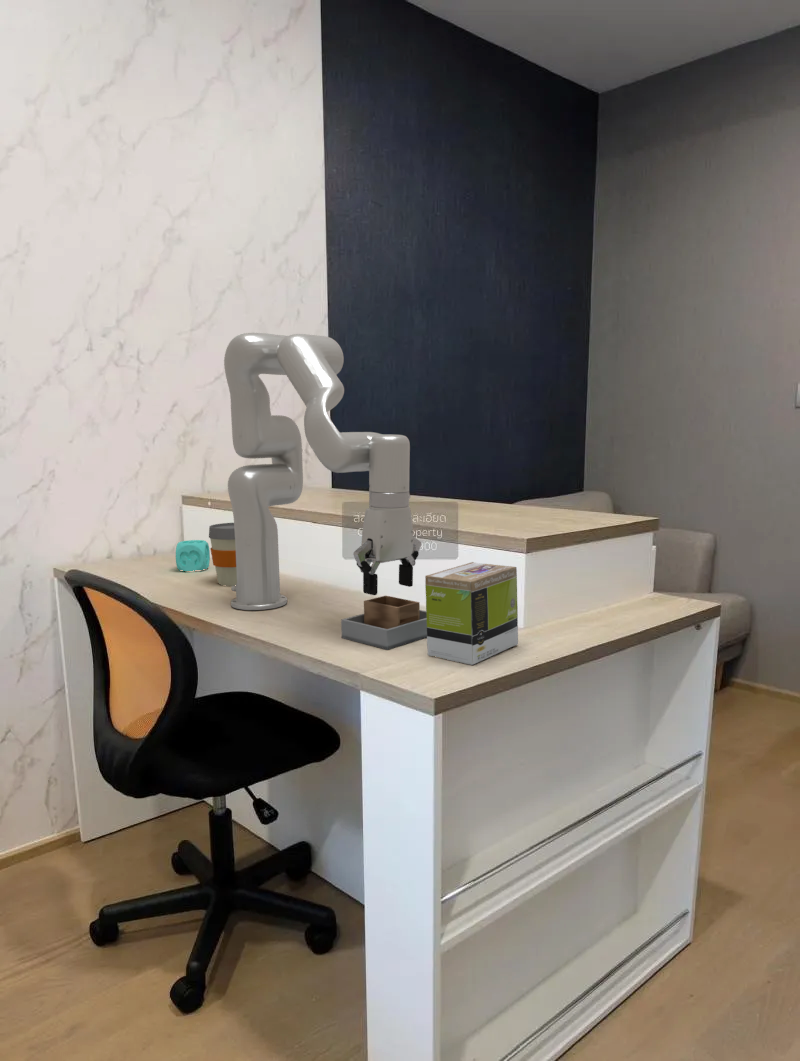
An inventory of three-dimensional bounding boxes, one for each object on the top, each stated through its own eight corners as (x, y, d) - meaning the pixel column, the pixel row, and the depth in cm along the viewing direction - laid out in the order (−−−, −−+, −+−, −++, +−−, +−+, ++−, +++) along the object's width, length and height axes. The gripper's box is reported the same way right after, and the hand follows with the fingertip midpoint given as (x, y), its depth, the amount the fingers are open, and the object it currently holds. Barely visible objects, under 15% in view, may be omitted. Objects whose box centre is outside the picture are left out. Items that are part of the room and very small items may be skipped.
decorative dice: (182, 567, 223) (181, 540, 222) (210, 566, 223) (209, 539, 222) (176, 572, 215) (174, 544, 214) (205, 572, 215) (203, 543, 214)
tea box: (473, 637, 146) (473, 560, 144) (519, 646, 139) (519, 565, 137) (425, 656, 134) (423, 573, 132) (472, 667, 128) (472, 579, 126)
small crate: (364, 631, 149) (363, 600, 148) (386, 625, 153) (385, 595, 152) (398, 639, 142) (397, 608, 142) (419, 632, 147) (419, 602, 146)
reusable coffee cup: (266, 577, 205) (263, 522, 203) (252, 587, 193) (249, 528, 191) (220, 577, 207) (217, 522, 205) (204, 587, 194) (200, 528, 192)
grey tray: (341, 637, 146) (341, 619, 146) (396, 622, 157) (396, 605, 157) (387, 650, 138) (387, 630, 138) (442, 632, 149) (442, 614, 148)
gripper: (405, 495, 153) (404, 579, 156) (341, 502, 141) (341, 593, 143) (434, 498, 148) (432, 585, 151) (370, 506, 135) (369, 601, 138)
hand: (388, 589), depth 147 cm, fingers open, 9 cm apart
